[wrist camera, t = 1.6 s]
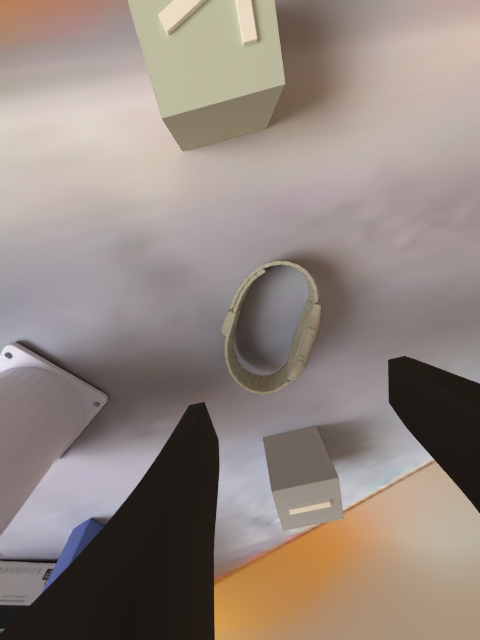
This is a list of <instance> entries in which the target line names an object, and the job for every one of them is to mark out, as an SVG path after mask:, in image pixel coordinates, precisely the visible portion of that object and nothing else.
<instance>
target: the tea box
mask: <svg viewBox="0 0 480 640" xmlns="http://www.w3.org/2000/svg"><path fill="white" fill-rule="evenodd" d="M55 565H56V563H33V562H15V561H0V633H1V632H2V631H3V630H4V629H6V628H7V627H8V626H9V625H10V624H11V623H12V622H13V621H14V620H15V619H16V618H17V617H18V616H19V615H20V614H21V613H22V612H23V611H24V610H25V609H26V608H27V607H29V606H30V605H31V604H32V603H33V602H34V601H35V600H36V599H37V598H38V597H39V596H40V595H41V593H42V591H43V589H44V587H45V585H46V583H47V581H48V579H49V577H50V575H51V573H52V571H53V569H54V567H55Z"/></svg>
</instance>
